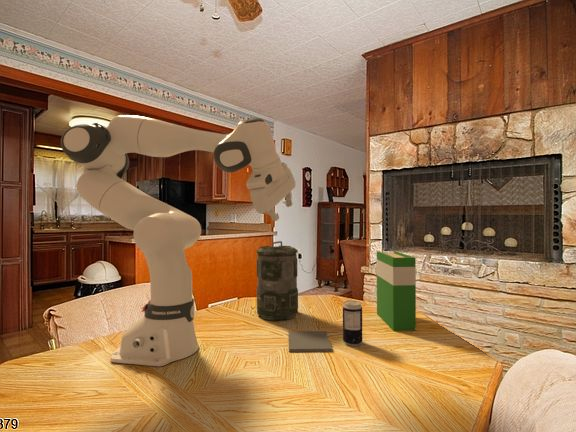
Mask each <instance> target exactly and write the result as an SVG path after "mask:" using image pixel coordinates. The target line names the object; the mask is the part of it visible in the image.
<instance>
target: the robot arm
mask: <svg viewBox="0 0 576 432" xmlns="http://www.w3.org/2000/svg"><path fill="white" fill-rule="evenodd" d="M60 147H61V149H62V152H64V154H65V155H66V156H67V157H68V158H69V159H70V160H71V161H72V162H75V163H78V164H79V166H81V167H82V168H83V173H82V174H81V175H80V176H79V178H78V179H77V181H76V191H77V193H78V195H79V196H80V197H82V199H84V201H86V202H87V204H89V205H90V206H92V207H93V208H94V209H95V210H96V211H98V212H100V213H101V214H103V215H104V216H106V217H107V218H109V219H111V220H112V221H114V222H116V223H117V224H119V225H120V226H122V227H124V228H126V229H127V230H132V231H133V242H134V243H135V245H136V247H137V249H139V250H140V251H141V252H142V254H143V256H144V258H145V261H146V265H147V268H148V272H149V279H150V300H148V303H146V304H144V306H142V308H141V309H140V310H141V313H144V316H142V317H141V318H140V319H139V320H137V321H136V322H135V323H134V324H132V325H131V326H130V327H129V328H128V329H127V330H126V331H125V332H124V333H123V335H122V337H121V342H120V346H118V347H117V348H116V349H115V350H113V352H112V354H111V356H110V361H111V363H118V364H127V365H128V364H130V365H139V366H150V367H152V366H153V367H163V366H166V365H168V364H170V363H172V362H176V361H180V360H183V359H186V358H187V357H190V356H192V355H193V354H195V353H196V352H197V351H198V350H199V348H200V345H199V343H198V339H197V336H196V331H195V323H194V319H195V308H196V306H195V299H194V297H193V272H192V269H191V268H190V267H189V265H188V264H189V263H188V262H187V261H188V260H187V258H186V253H185V250H186V249H189V248H191V247H192V246H193V245H194V244H195V243H197V241H199V239H200V238H201V234H202V226H201V224H200V222H199V221H198V219H197V218H195V217H193V216H192V215H190V214H188V213H186V212H184V211H182V210H180V209H178V208H176V207H174V206H172V205H171V204H170V205H169V204H168V203H166V202H163V201H161V200H159V199H157V198H155V197H153V196H151V195H149V194H148V193H145V192H144V191H142V190H140V189H139V188H137V187H136V186H134V185H132V184H131V183H129V182H127V181H126V180H124V179H123V178H124V176H125V175H126V173H127V172H128V170H129V168H130V158H129V155H128V154H130V153H135V154H139V155H144V156H148V157H154V158H155V157H156V158H170V157H173V156H175V155H178V154H181V153H185V152H190V151H203V152H210V153H213V159H214V160H213V161H214V163H215V164H216V166H217V167H218V169H220V170H221V171H223V172H225V173H235V172H238V171H240V170H242V169H244V168H245V167H247V166H250V167H251V170H252V171H251V173H250V176H249V178H248V179H247V181H246V183H245V186H246V188H247V190H250V192H249V196H250V200H251V202H252V205H253V207H254V209H255V211H256V213H258V214H260V215H261V214H262V215H263V214H267V215H268V216H270V217H271V221H273V222H277V221H278V220H279V219H280V216H279V213H278V212H277V213H276V212H275V207H276V206H277V205H278V204H279V203H280V202H281V201H282V200H283V199H285V202H284V204H285V206H286V208H290V207H292V206H293V200H292V199H293V198H292V191H293V190H294V188H296V185H297V183H296V180H295V178H294V175H293V173H292V171H291V169H290V168H289V167H288V164H286V163H285V162H282V161H281V158H280V155H279V154H278V153H277V150H276V143H275V140H274V137H273V134H272V132H271V129H270V127H269V125H268V123H267V121H265V120H264V119H263V118H259V117H251V118H247V119H243V120H240V121H239V122H238V123H237V126H236V127H235V128H234V129H233V131H232V132H230V133H220V132H215V131H209V130H202V129H196V128H190V127H186V126H183V125H179V124H176V123H171V122H167V121H164V120H161V119H156V118H151V117H146V116H140V115H129V114H126V115H125V114H124V115H123V114H119V115H116V116H114V117H113V118H111V120H110V122H109V124H108V126H105V125H103V124H102V123H98V122H94V123H92V124H91V123H90V124H87V123H82V124H76V125H73V126H71V127H69V128H67V129H66V130H65V131H64V132H63V133H62V135H61V137H60Z"/></svg>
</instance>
